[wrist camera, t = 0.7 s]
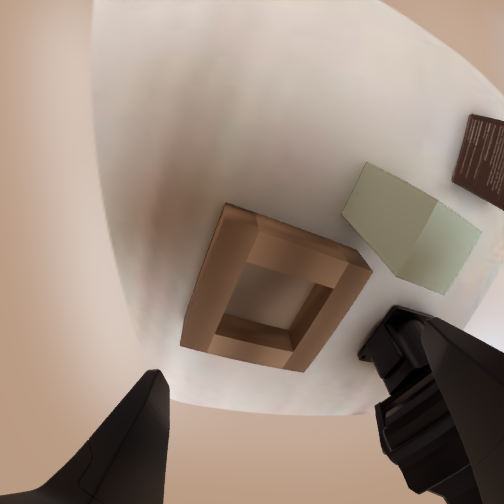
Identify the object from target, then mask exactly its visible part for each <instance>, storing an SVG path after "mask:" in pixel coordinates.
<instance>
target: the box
mask: <svg viewBox="0 0 504 504" xmlns="http://www.w3.org/2000/svg"><path fill="white" fill-rule="evenodd" d="M452 181H453V182H454V183H455V184H457V185H459V186H461V187H463V188H464V189H466V190H468V191H470V192H472V193H473V194H475V195H477V196H479V197H480V198H482V199H484V200H486V201H488V202H490V203H491V204H493V205H495V206H497V207H498V208H500V209H502V210H503V211H504V121H501V120H497V119H492V118H488V117H484V116H479V115H474V114H472V115H470V117H469V121H468V125H467V129H466V134H465V138H464V142H463V146H462V150H461V153H460V156H459V159H458V162H457V166H456V168H455V171H454V174H453V179H452Z"/></svg>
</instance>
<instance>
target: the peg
mask: <svg viewBox="0 0 504 504" xmlns="http://www.w3.org/2000/svg"><path fill="white" fill-rule="evenodd" d="M342 215H343V217H344V218H345V219H346V220H347V221H348V222H349V223H350V224H351V225H352V226H353V228H354V229H355V230H356V231H357V232H358V233H359V234H360V235H361V236H362V238H363V239H364V240H365V241H366V242H367V243H368V244H369V246H370V247H371V248H372V249H373V250H374V251H375V252H376V254H377V255H378V256H379V257H380V258H381V260H382V261H383V262H384V263H385V264H386V265H387V267H388V268H389V269H390V270H391V271H392V273H393V274H394V275H395V276H396V277H398V278H401V279H403V280H406V281H409V282H411V283H414V284H416V285H419V286H422V287H424V288H427V289H429V290H432V291H434V292H437V293H439V294H442V295H445V294H446V292H447V291H448V289H449V288H450V286H451V284H452V283H453V281H454V280H455V278H456V277H457V275H458V273H459V272H460V270H461V268H462V267H463V265H464V263H465V262H466V260H467V258H468V257H469V255H470V253H471V251H472V250H473V248H474V246H475V244H476V242H477V240H478V239H479V237H480V235H481V233H482V231H480V230H479V229H478V228H476V227H475V226H474V225H472V224H471V223H470V222H468V221H467V220H466V219H464V218H463V217H462V216H460V215H459V214H457V213H456V212H455V211H453V210H452V209H450V208H449V207H447V206H446V205H444V204H443V203H442V202H440V201H439V200H437V199H435V198H434V197H432V196H430V195H428V194H427V193H425V192H423V191H421V190H420V189H418V188H416V187H414V186H412V185H411V184H409V183H407V182H405V181H403V180H401V179H400V178H398V177H396V176H394V175H392V174H390V173H388V172H386V171H384V170H382V169H380V168H378V167H376V166H374V165H372V164H370V163H368V162H366V164H365V167H364V169H363V171H362V173H361V175H360V177H359V179H358V181H357V183H356V185H355V188H354V190H353V192H352V194H351V196H350V198H349V200H348V202H347V204H346V206H345V208H344V210H343V212H342Z"/></svg>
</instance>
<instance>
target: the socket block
mask: <svg viewBox="0 0 504 504" xmlns="http://www.w3.org/2000/svg"><path fill="white" fill-rule="evenodd" d="M372 272H373V271H372V270H371V268H370V267H369V266H368V264H367V263H366V262H365V260H364V259H363V258H362V256H361V255H360V254H359V252H358V251H357V250H355V249H352V248H349V247H347V246H344V245H342V244H339V243H336V242H334V241H331V240H328V239H326V238H323V237H320V236H318V235H315V234H312V233H310V232H307V231H304V230H302V229H299V228H296V227H293V226H291V225H288V224H285V223H282V222H280V221H277V220H274V219H271V218H268V217H266V216H263V215H260V214H257V213H254V212H251V211H248V210H246V209H243V208H240V207H237V206H234V205H231V204H228V203H225V206H224V209H223V211H222V214H221V216H220V219H219V222H218V225H217V227H216V230H215V233H214V235H213V238H212V241H211V244H210V246H209V249H208V252H207V255H206V257H205V260H204V263H203V266H202V269H201V272H200V274H199V277H198V280H197V283H196V286H195V289H194V292H193V295H192V298H191V300H190V303H189V306H188V309H187V312H186V315H185V318H184V323H183V329H182V335H181V341H180V346H182V347H186V348H190V349H193V350H197V351H201V352H205V353H209V354H213V355H218V356H222V357H226V358H230V359H235V360H239V361H244V362H249V363H254V364H259V365H264V366H269V367H274V368H280V369H285V370H291V371H297V372H303V373H304V372H305V371H306V369H307V368H308V367H309V365H310V364H311V363H312V361H313V360H314V359H315V357H316V356H317V355H318V353H319V352H320V351H321V349H322V348H323V347H324V345H325V344H326V342H327V341H328V340H329V338H330V337H331V335H332V334H333V332H334V331H335V330H336V328H337V327H338V325H339V324H340V322H341V321H342V319H343V318H344V316H345V315H346V313H347V312H348V310H349V309H350V307H351V306H352V304H353V303H354V301H355V300H356V298H357V297H358V295H359V293H360V292H361V290H362V289H363V287H364V285H365V284H366V282H367V281H368V279H369V277H370V276H371V274H372Z"/></svg>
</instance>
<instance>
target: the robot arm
mask: <svg viewBox="0 0 504 504" xmlns="http://www.w3.org/2000/svg"><path fill="white" fill-rule="evenodd" d="M396 311H397V312H396ZM358 358H359V360H361V361H367V362H373V363H374V365H375V367H376V370H377V372H378V374H379V376H380V378H382V379H383V381H384V383H385V386H386V388H387V390H388V392H389V394H390V395H391V396H390V397H388V398H387V399H385V400H384V401H382V402H379V403H378V404H376V405H375V411H376V420H377V425H378V431H379V436H380V443H381V447H382V451H383V453H384V454H385V455H387V456H388V457H389V459H390V460H391V461H392V462H393V463H395V464H396V465H398V466H399V468H400V469H401V471H402V473H403V476H404V478H405V480H406V482H407V485H408V487H409V488H410V489H411V490H412V491H414V492H415V493H417V494H421V493H423V492H425V491H429V492H432V493H434V494H436V495H439V496H441V497H443V498H444V500H445V501H446V503H447V504H504V353H503V352H501V351H499V350H498V349H496V348H494V347H492V346H490V345H488V344H486V343H485V342H483V341H481V340H479V339H477V338H475V337H474V336H472V335H470V334H468V333H466V332H464V331H462V330H461V329H459V328H457V327H455V326H453V325H451V324H449V323H447V322H445V321H444V320H442V319H440V318H438V317H433V316H429V315H426V314H423V313H419V312H416V311H413V310H409V309H406V308H403V307H399V306H395V307H393V308H392V309H391V310H390V312H389V313H388V315H387V316H386V317H385V319H384V320H383V322H382V323H381V324H380V326H379V327H378V328H377V330H376V331H375V333H374V334H373V335H372V337H371V338H370V339H369V340H368V342H367V343H366V344H365V346H364V347H363V348H362V350H361V351H360V352H359V353H358ZM169 416H170V389H169V385H168V383H167V381H166V379H165V378H164V376H163V374H162V372H161V371H160V370H159V369H154V370H148V371H146V373H145V374H144V375H143V376H142V377H141V378H140V379H139V381H138V382H137V383H136V384H135V385H134V386H133V388H132V389H131V390H130V391H129V392H128V394H127V395H126V396H125V397H124V398H123V399H122V401H121V402H120V403H119V404H118V405H117V407H115V409H114V410H113V411H112V412H111V414H110V415H109V416H108V417H107V418H106V419H105V420H104V422H103V423H102V424H101V425H100V426H99V428H98V429H97V430H96V431H95V432H94V433H93V434H92V436H91V437H90V438H89V440H87V441H86V443H85V444H84V445H83V446H82V447H81V448H80V449H79V451H78V452H77V453H76V454H75V455H74V456H73V457H72V458H71V459H70V460H69V461H68V462H67V463H66V464H65V465H64V466H63V467H62V468H61V469H60V470H59V471H58V472H57V473H56V474H54V476H52V477H51V478H50V479H49V480H48V481H47V482H46V483H45V484H43V485H42V486H41V487H39V488H37V489H34V490H31V491H27V492H21V493H15V494H8V495H1V496H0V504H163V498H164V484H165V472H166V461H167V450H168V440H169V430H170V417H169Z"/></svg>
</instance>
